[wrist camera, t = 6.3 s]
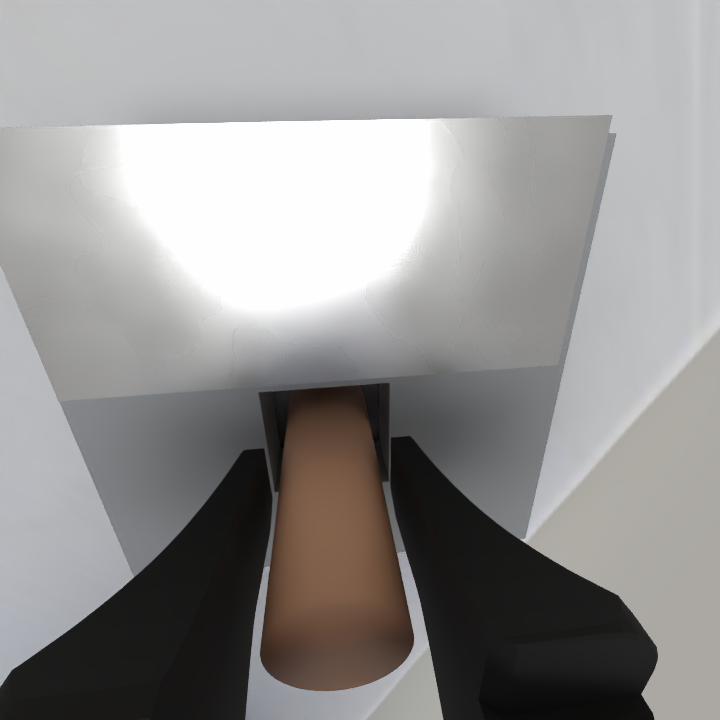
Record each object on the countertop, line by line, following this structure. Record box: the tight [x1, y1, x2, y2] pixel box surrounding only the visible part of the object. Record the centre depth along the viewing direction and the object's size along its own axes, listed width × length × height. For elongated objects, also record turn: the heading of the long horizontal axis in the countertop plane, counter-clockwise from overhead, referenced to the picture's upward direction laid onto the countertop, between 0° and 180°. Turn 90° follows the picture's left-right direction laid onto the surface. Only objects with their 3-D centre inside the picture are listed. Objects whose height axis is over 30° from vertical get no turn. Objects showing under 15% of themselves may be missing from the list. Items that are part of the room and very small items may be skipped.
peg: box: [260, 385, 414, 691], centre depth 12 cm, size 3×3×9 cm
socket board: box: [59, 133, 616, 577], centre depth 14 cm, size 15×16×2 cm
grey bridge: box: [0, 115, 612, 401], centre depth 9 cm, size 4×10×4 cm, turn 92°
